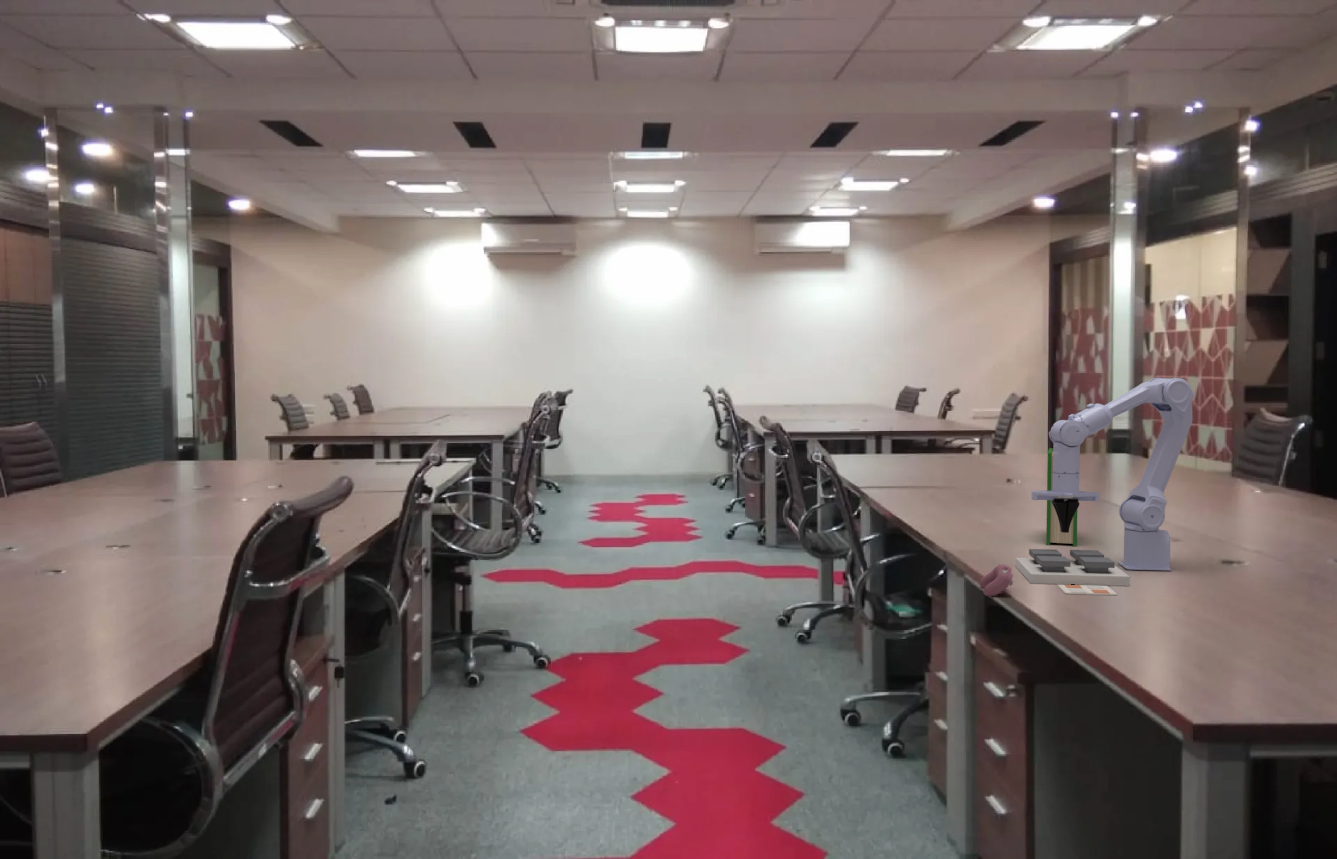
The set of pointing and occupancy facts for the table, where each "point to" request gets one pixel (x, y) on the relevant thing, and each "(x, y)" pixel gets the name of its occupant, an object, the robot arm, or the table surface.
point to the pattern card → (1086, 589)
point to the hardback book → (1052, 519)
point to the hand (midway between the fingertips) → (1064, 532)
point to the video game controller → (997, 580)
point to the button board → (1071, 575)
